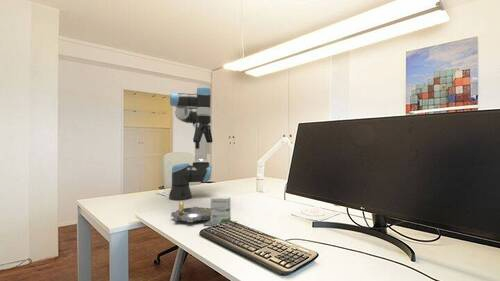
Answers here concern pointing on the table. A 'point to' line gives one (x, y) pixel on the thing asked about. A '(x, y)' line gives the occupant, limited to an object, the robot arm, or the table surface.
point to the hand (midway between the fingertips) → (203, 154)
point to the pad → (211, 224)
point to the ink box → (220, 210)
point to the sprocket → (191, 213)
